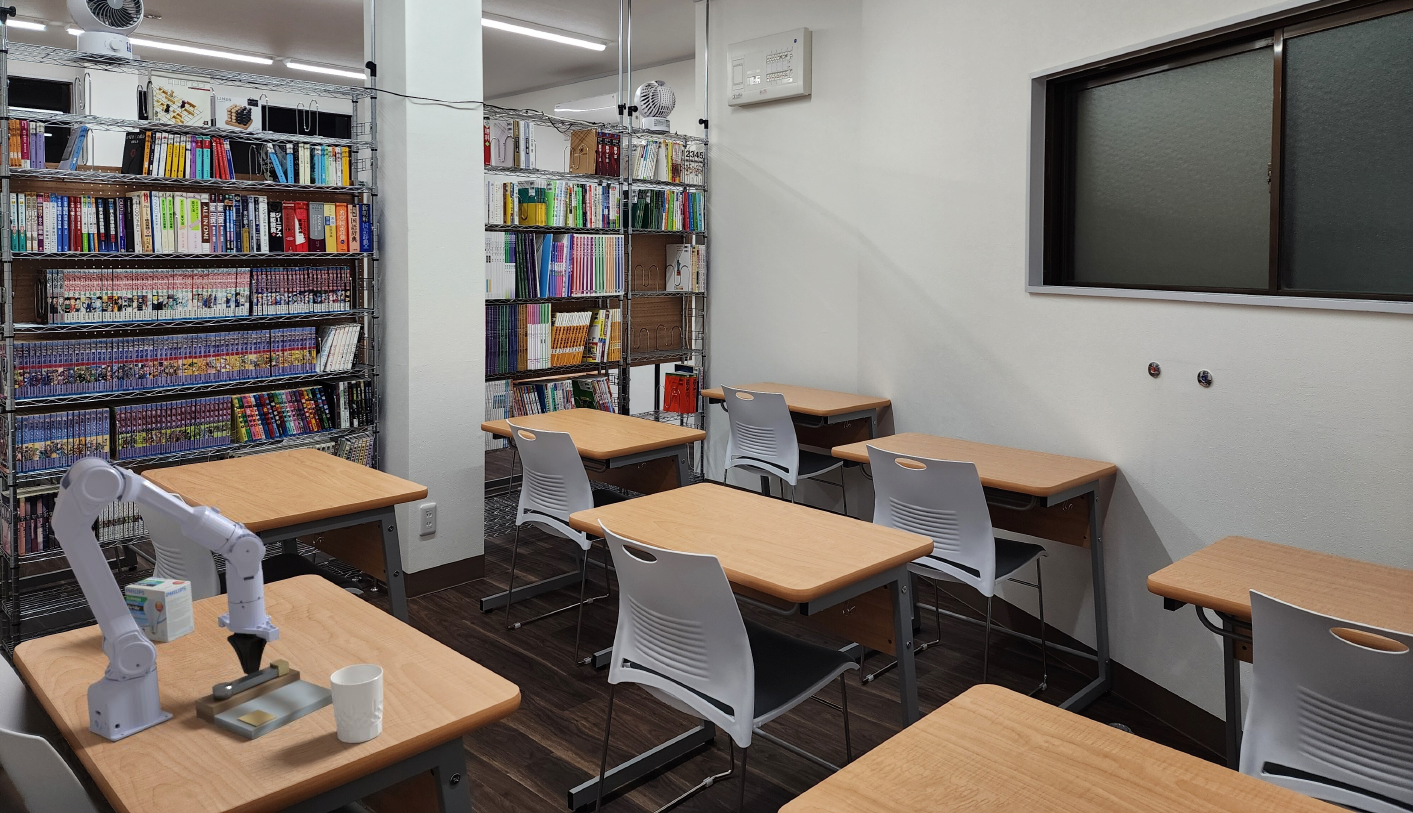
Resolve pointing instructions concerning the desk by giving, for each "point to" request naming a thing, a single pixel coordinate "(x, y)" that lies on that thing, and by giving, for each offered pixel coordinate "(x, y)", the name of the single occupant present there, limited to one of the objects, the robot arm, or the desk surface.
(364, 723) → the white cup
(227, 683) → the latch bar
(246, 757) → the desk surface
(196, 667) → the desk surface
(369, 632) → the desk surface
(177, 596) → the light bulb box
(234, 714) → the door board
